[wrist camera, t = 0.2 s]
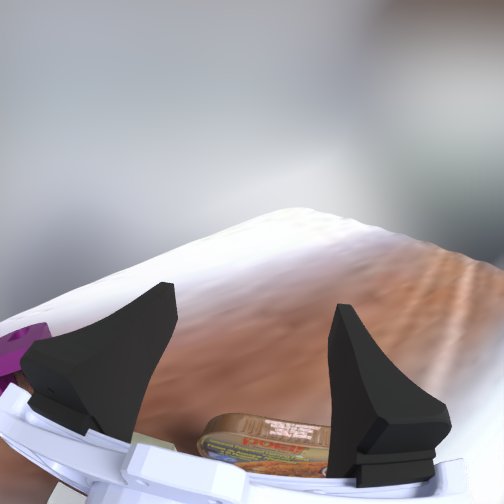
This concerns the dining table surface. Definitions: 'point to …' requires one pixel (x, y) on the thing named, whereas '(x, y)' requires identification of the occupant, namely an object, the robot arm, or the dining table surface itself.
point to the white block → (65, 496)
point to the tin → (267, 445)
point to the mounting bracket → (18, 350)
